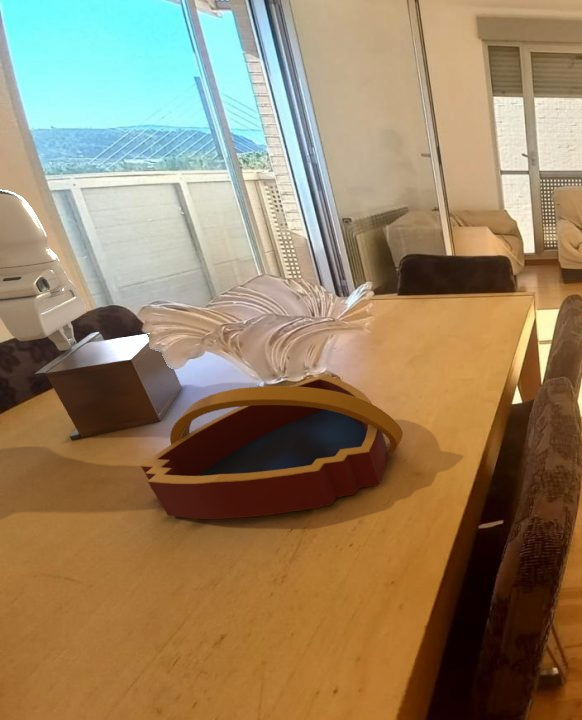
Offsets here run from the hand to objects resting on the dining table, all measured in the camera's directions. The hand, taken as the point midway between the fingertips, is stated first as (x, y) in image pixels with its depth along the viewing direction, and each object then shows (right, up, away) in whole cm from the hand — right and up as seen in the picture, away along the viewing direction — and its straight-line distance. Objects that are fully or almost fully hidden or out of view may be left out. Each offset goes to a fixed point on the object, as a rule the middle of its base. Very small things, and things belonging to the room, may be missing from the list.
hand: (68, 347), depth 93 cm
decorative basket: (+57, -20, -17) cm, 62 cm away
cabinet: (+9, -12, +5) cm, 15 cm away
